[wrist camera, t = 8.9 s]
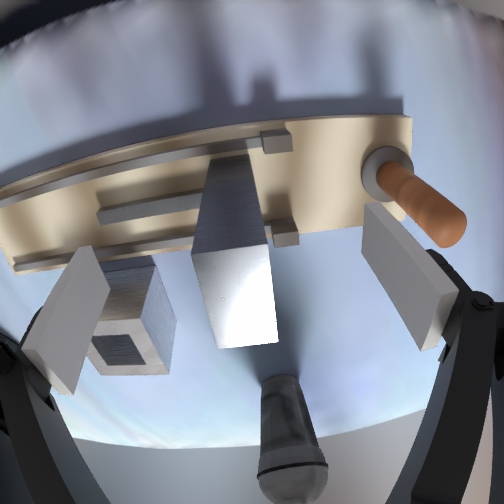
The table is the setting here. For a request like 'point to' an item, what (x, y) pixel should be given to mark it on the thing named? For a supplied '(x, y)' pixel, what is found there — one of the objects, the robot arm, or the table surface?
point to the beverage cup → (289, 445)
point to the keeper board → (193, 177)
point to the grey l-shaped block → (222, 249)
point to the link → (134, 325)
